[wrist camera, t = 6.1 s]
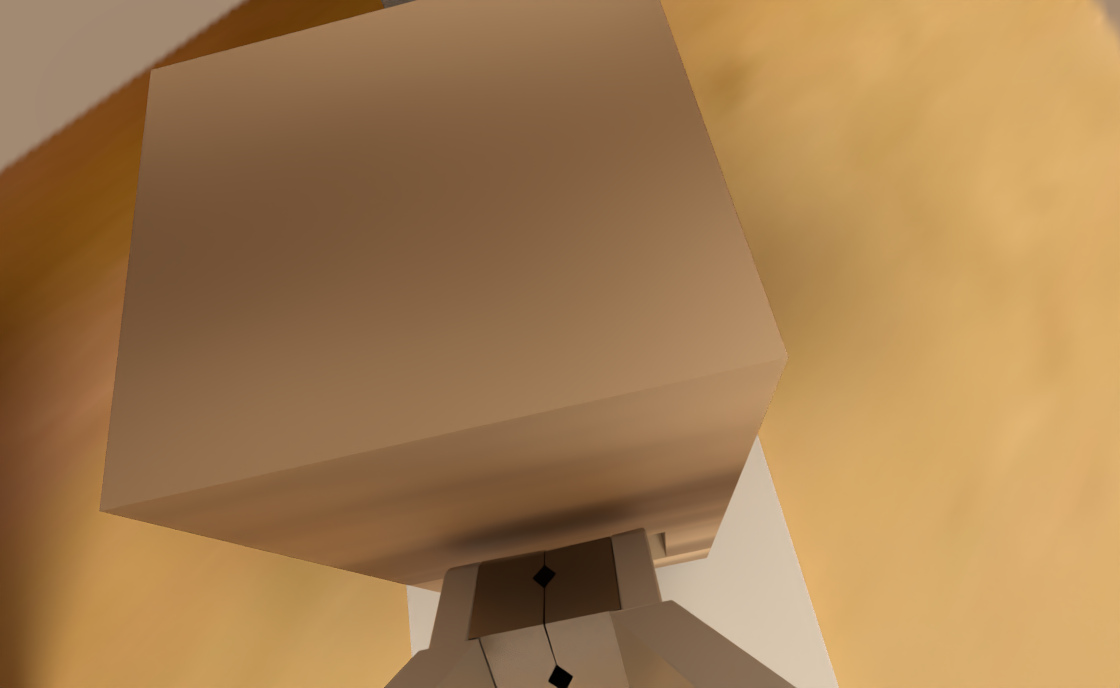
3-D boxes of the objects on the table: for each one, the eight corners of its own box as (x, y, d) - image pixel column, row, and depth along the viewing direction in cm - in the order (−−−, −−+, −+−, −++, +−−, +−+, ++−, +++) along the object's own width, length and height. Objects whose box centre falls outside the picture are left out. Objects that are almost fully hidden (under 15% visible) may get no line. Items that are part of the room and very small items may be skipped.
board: (968, 1119, 13) (986, 1146, 12) (466, 1197, 14) (455, 1227, 13) (638, 76, 25) (637, 59, 24) (379, 141, 26) (371, 127, 25)
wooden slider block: (706, 557, 16) (789, 357, 5) (485, 603, 17) (100, 511, 5) (658, 372, 19) (638, -59, 7) (462, 416, 19) (151, 70, 8)
